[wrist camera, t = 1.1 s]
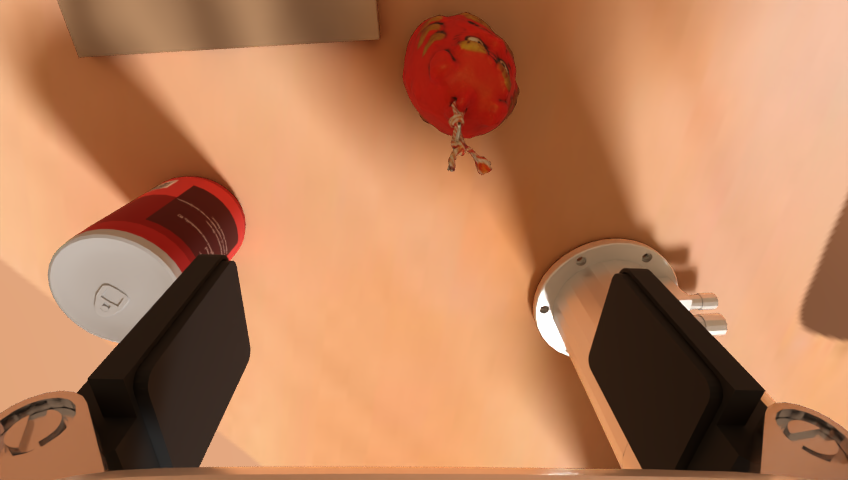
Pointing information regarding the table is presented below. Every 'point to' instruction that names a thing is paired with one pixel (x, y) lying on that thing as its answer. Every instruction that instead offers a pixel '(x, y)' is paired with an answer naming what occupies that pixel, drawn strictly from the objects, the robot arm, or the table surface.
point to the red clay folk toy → (460, 80)
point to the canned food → (142, 253)
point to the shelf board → (213, 24)
